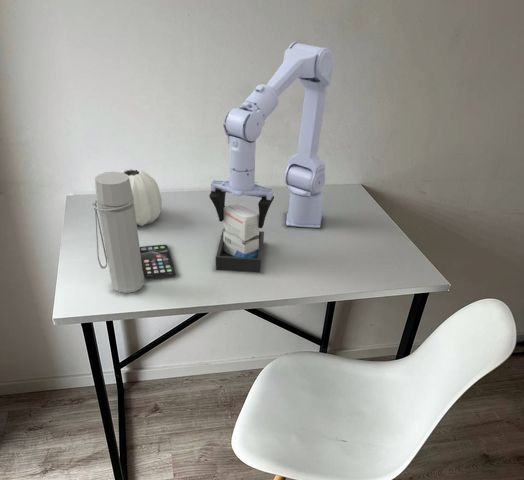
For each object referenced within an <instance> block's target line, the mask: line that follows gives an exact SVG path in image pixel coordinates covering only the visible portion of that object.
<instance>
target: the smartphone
mask: <svg viewBox="0 0 524 480" xmlns="http://www.w3.org/2000/svg"><path fill="white" fill-rule="evenodd" d="M140 254H141V262H142V270H143V278H144V279H145V280H154V279H165V278H171V277H175V276H176V274H177V272H176V269H175V266H174V262H173V259H172V256H171V252H170V250H169V245H167V244H156V245H145V246H140Z"/></svg>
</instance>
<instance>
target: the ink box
mask: <svg viewBox="0 0 524 480" xmlns="http://www.w3.org/2000/svg"><path fill="white" fill-rule="evenodd" d="M223 216H224V220H223V221H222V222H223V224H222V225H223V228H222V229H224V232H223V237H224V240H223V241H224V244H223V246H224V247H223V248H224V249H223V250H224V251H225V252H227V253H228V254H230V255H232V256H233V257H246V258H257V257H258V250H259V231H260V228H259V212H256V211H255V210H252V209H251V208H249V207H247V206H245V205H243V204H241V203H240V202H237V203H232V204H229V205H225V207H224V208H223Z"/></svg>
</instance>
